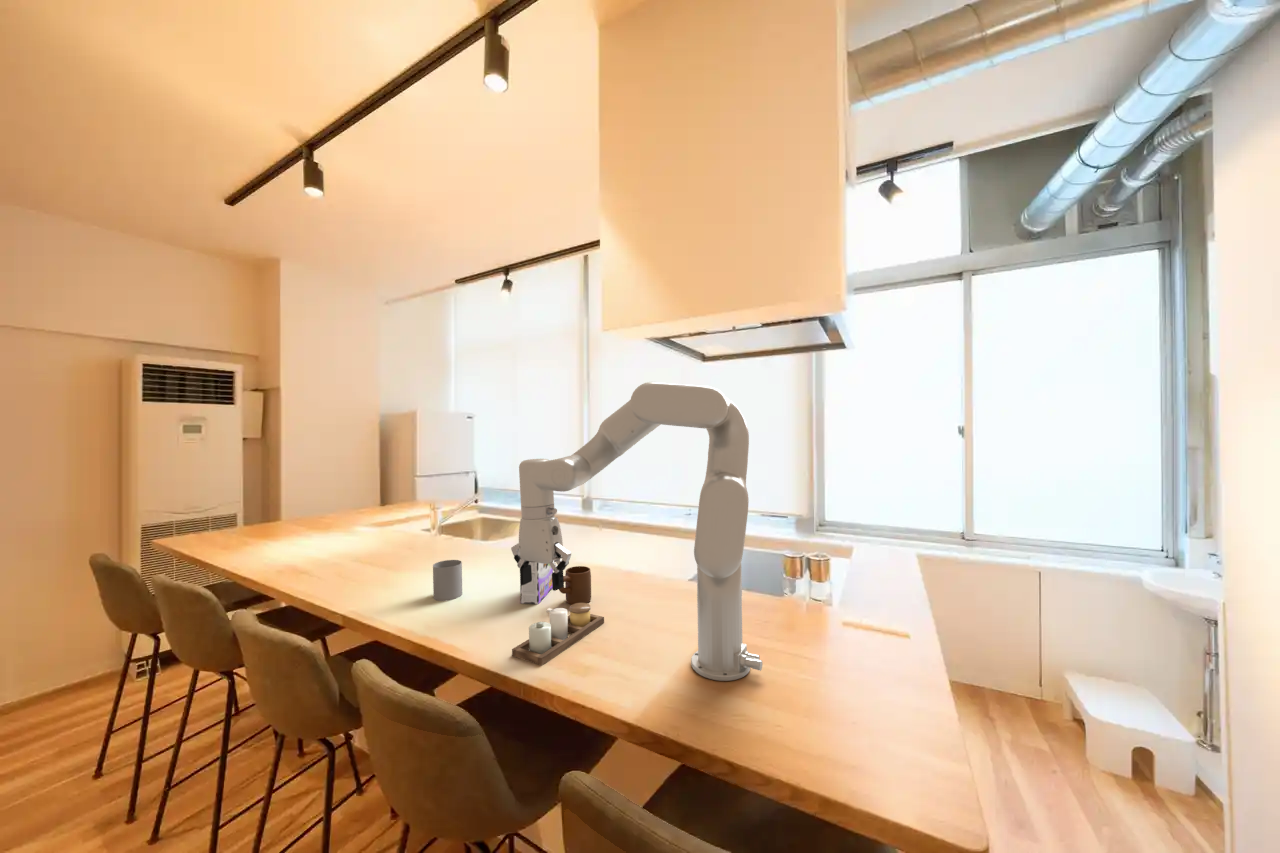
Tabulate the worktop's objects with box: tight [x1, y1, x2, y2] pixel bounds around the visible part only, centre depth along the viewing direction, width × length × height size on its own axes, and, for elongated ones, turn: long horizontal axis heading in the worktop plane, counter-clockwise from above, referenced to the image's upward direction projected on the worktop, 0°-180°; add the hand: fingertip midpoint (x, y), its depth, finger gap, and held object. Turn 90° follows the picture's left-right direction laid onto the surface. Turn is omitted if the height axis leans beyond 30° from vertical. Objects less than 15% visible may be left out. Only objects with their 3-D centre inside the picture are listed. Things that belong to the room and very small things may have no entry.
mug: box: [558, 565, 592, 606], centre depth 137 cm, size 12×8×9 cm, turn 147°
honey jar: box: [569, 602, 591, 627], centre depth 122 cm, size 5×5×5 cm
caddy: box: [511, 613, 605, 666], centre depth 115 cm, size 9×24×2 cm, turn 150°
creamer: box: [546, 607, 569, 640], centre depth 116 cm, size 6×4×6 cm
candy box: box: [519, 562, 554, 605], centre depth 144 cm, size 14×6×16 cm, turn 172°
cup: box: [432, 559, 463, 602], centre depth 145 cm, size 8×8×10 cm
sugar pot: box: [528, 621, 552, 654], centre depth 108 cm, size 5×5×7 cm
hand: (542, 585), depth 108 cm, fingers open, 9 cm apart
